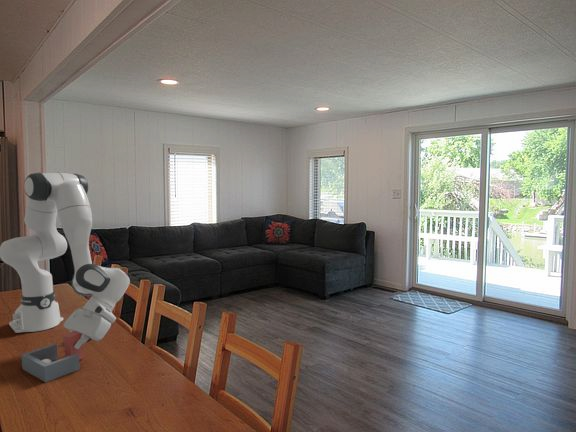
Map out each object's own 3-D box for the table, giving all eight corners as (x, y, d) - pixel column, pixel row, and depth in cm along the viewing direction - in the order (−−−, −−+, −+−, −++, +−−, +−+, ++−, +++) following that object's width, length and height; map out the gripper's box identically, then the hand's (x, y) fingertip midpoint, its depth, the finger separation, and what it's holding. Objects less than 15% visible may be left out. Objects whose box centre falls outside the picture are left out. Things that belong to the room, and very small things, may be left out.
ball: (45, 370, 134) (33, 369, 131) (50, 358, 135) (39, 356, 132) (51, 374, 132) (39, 372, 128) (56, 361, 133) (45, 359, 130)
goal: (22, 369, 134) (21, 354, 133) (55, 357, 142) (54, 343, 142) (45, 382, 125) (44, 366, 124) (79, 369, 133) (78, 354, 133)
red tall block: (65, 360, 139) (62, 335, 138) (77, 355, 143) (74, 330, 141) (71, 362, 137) (68, 337, 136) (83, 358, 140) (80, 333, 139)
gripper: (75, 301, 150) (49, 335, 143) (106, 310, 138) (79, 348, 131) (87, 309, 154) (62, 343, 147) (119, 319, 142) (93, 357, 135)
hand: (71, 346), depth 139 cm, fingers closed on red tall block, 4 cm apart
